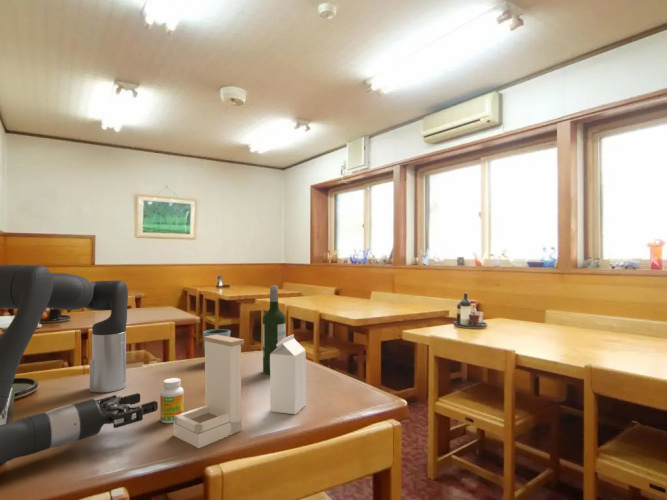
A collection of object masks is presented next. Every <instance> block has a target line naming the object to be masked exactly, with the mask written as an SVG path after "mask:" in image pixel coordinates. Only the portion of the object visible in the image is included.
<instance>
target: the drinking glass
mask: <svg viewBox="0 0 667 500" xmlns="http://www.w3.org/2000/svg"><path fill="white" fill-rule="evenodd" d="M216 334H217V335H222V336H228V337H231V330H230V329H227V328H226V329H225V328H218V329H217V328H215V329H207V330H204V331H203V333H202V335H203V337H202V338H204V337H205V336H210V335H216ZM203 343H204V346H203V349H204V350H205V341H204V340H203Z"/></svg>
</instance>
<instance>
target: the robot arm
mask: <svg viewBox="0 0 667 500" xmlns="http://www.w3.org/2000/svg"><path fill="white" fill-rule="evenodd" d="M127 285H128V284H127V283H126V282H125V281H123V280H95V281H90V280H89V279H87V278H86V277H84V276H81V275H78V274H72V273H62V272H61V273H59V272H51V271H50V269H49V268H48V267H46V266H44V265H36V264H3V265H2V264H1V265H0V309H1V310H2V309H3V310H5V309H6V310H8V309H10V310H15V309H16V312H15V315H14V317H13V318H12V320H11V322H10V323H9V325H8V327H7V328H5V330H4V331H3V332H2V334H1V335H0V415H1V414H2V413H3V412H4V410H5V408H6V406H7V403H8V399H9V398H10V394H11V391H12V387H13V384H14V381H15V378H16V374H17V371H18V368H19V365H20V363H21V361H22V357H23V355H24V354H25V352H26V349H27V347H28V346H29V344H30V341H31V340H32V337H33V336H34V333H35V332H36V330H37V328H38V325H39V323H40V322H41V320H42V317H43V314H44V313H45V310H46V309H51V310H52V309H53V310H62V311H64V310H65V311H72V310H74V311H75V310H80V309H83V308H85V309H86V310H87V309H88V310H91V311H98V312H99V311H100V312H103V311H110V315H109V317H107V318H105V319H104V320H101V321H98V322H95V323H94V324H93V325H92V329H91V333H92V335H91V343H92V344H91V346H92V347H91V349H92V350H91V351H92V352H91V355H92V356H91V357H92V358H90V360H89V392H91V393H110V392H111V393H112V392H115V391H116V392H117V391H120V390H122V389H124V388H125V387H127V331H126V330H127V321H128V302H129V289H128V286H127ZM140 402H141V394H140V393H138V392H136V393H132V394H129V395H126V396H123V395H120V396H119V395H111V396H106V397H104V398H100V399H96V400H95V399H93V398H91V399H87V400H83V401H79V402H75V403H72V404H71V403H70V404H67V405H63V406H60V407H55V408H53V409H50V410H48V411H44V412H40V413H38V414H34V415H28V416H26V417H22V418H19V419H16V420H14V421H12V422H10V423H4V424H0V465H2V464H4V463H7V462H10V461H12V460H14V459H17V458H21V457H26V456H31V455H33V454H37V453H40V452H42V451H45V450H47V449H48V450H49V449H53V448H58V447H62V446H66V445H69V444H72V443H75V442H78V441H82V440H84V439H88V438H91V437H94V436H97V435H98V434H99V433H100V432H101V430H102V427H103V426H104V425H113V426H112V427H113V428H114V429H117V428H120V427H124V426H127V425H130V424H135V423H137V422H141V421H143V420H144V416H145V415H149V414H150V413H151V414H152V413H154V412H157V411H158V409H159V408H158V406H159V405H158V404H159V403H158V401H156V400H153V401H149V402H146V403H142V404H139V403H140ZM135 404H138V405H135Z"/></svg>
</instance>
